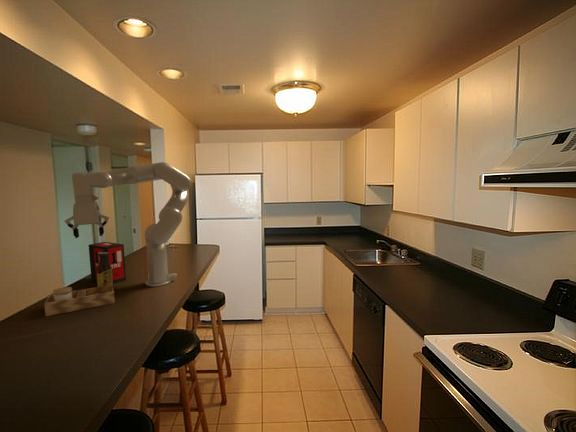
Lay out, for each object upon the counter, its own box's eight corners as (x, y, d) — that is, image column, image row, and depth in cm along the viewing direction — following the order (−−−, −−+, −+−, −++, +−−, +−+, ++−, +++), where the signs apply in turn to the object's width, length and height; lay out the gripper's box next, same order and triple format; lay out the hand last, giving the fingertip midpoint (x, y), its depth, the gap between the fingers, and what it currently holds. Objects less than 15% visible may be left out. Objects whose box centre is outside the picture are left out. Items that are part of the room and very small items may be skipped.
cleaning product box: (125, 280, 162) (123, 244, 160) (109, 285, 154) (107, 247, 152) (107, 276, 170) (105, 241, 168) (91, 280, 162) (88, 244, 160)
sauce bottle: (106, 296, 139) (102, 254, 137) (94, 295, 140) (91, 254, 138) (116, 291, 145) (113, 251, 143) (105, 290, 147) (102, 251, 144)
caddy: (113, 296, 138) (112, 284, 138) (114, 304, 129) (114, 291, 129) (49, 308, 126) (47, 295, 125) (45, 318, 116) (44, 304, 116)
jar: (74, 303, 128) (72, 285, 127) (73, 308, 123) (71, 290, 122) (55, 307, 125) (53, 288, 124) (53, 312, 120) (52, 293, 119)
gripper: (108, 198, 142) (112, 233, 144) (65, 200, 136) (70, 236, 138) (104, 199, 135) (108, 236, 137) (59, 201, 129) (64, 239, 131)
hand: (89, 236), depth 137 cm, fingers open, 9 cm apart
